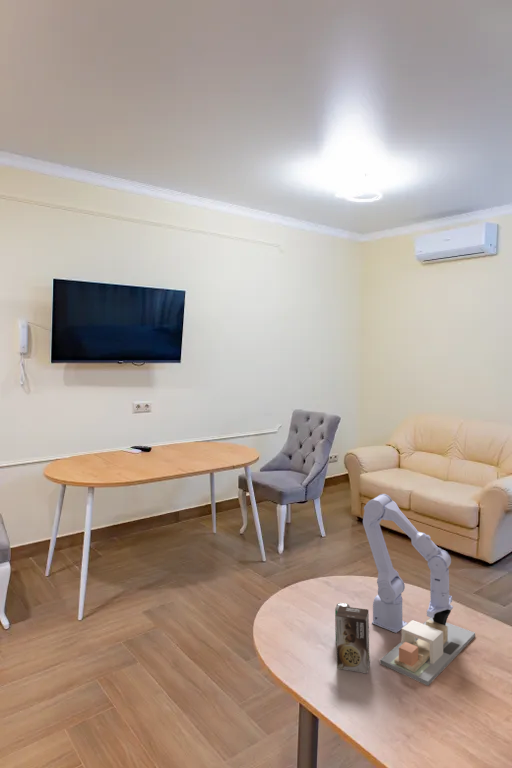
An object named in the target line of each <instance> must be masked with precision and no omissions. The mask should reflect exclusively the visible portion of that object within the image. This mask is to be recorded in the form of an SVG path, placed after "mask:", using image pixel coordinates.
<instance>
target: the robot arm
mask: <svg viewBox="0 0 512 768" xmlns="http://www.w3.org/2000/svg"><path fill="white" fill-rule="evenodd" d="M363 511H364V512H363V519H362V525H363V528H364V530H365V531H364V532H365V534H366V538H367V541H368V544H369V547H370V551H371V554H372V557H373V561H374V563H375V566H376V570H377V572H378V573H377V580H376V584H377V594H376V596H375V597H374V598H373V601H372V621H371V624H373V625H375V626H378V627H380V628H382V629H385V630H387V631H390V632H392V633H395V634H397V633H399V632H400V631H402V628H403V627H404V626H405V625H407V624H408V623H409V622H406V621H404V620H403V596H402V593H404V591H405V589H406V586H405V582H404V581H403V579H402V578H401V577H400V575H399V572H398V571H397V570H396V569H395V568H394V565H393V562H392V559H391V556H390V553H389V550H388V548H387V543H386V540H385V538H384V535H383V530H382V528H381V525H380V524H381V522H382V520H383V521H391V522H393V523H394V524H396V526H397V527H398V528H399V529H401V530H402V532H404V534H406V535H407V536H408V538H409V539H410V540H411V546H413V548H414V549H415V550H416V551H417V552H418V553H419V554H420V555H421V556H422V557H423V559H425V561H426V562H427V567H428V569H429V571H430V575H429V576H430V579H429V580H430V582H429V583H430V585H429V586H430V592H429V593H430V600H429V604H428V609H426V617H428V618H433V621H434V622H437V623H440V624H442V625H446V622H447V620H448V618H449V615H450V614H451V611H452V610H453V608H454V606H453V605H452V602H453V596H452V595H450V568H449V567H450V566H451V564H452V558H451V555H450V554H449V552H448V551H446V550H444V549H442V548H441V547H438V546H437V544H436V543H435V542H434V541H433V540H432V538H431V535H430V534H426V533H425V532H421V531H418V530H417V528H416V527H415V525H414V524H413V523H411V521H410V519H408V517H407V516H406V514H404V513H403V512H402V511H401V509H400V508H399V506H398V504H397V502H395V501H394V500H393V499H392V497H391V496H390V495H388V494H387V493H380V494H379V495H377V496H375V497H374V498H372V499H370V500H368V501H367V503H366V504H365V505H364V507H363Z"/></svg>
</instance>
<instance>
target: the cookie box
mask: <svg viewBox="0 0 512 768" xmlns="http://www.w3.org/2000/svg"><path fill="white" fill-rule="evenodd" d="M369 622H370V621H369V609H366V608H360V607H359V608H357V607H353V606H352V607H351V606H350V607H344V606H339V609H338V611H337V614H336V635H335V637H336V636H337V642H336V669H338V668H340V669H339V670H346V671H353V672H358V673H364V674H369V668H370V663H371V662H370V661H371V660H370V627H369V625H370V623H369Z"/></svg>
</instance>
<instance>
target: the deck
mask: <svg viewBox="0 0 512 768" xmlns="http://www.w3.org/2000/svg"><path fill="white" fill-rule="evenodd" d="M428 619H429V620H431V621H433V618H430V617H428ZM422 624H425V625H426V621H424V622H423V623H422ZM445 626H448V641H447V642H446V643H445V644H444V645H443V655H442V656H441V657H440V658H439V659H438V660H437V661H436V662H435V663H434V664H431V663H430V658H429V659H428V660H427V661H426V662H425V663H424V664H423V665H422V666H421V667H420V668H419V669H418V670H417V671H416V672H413V671H411V670H408V669H406V668H404V667H402V666H400V665H397V664H395V663H394V660H395V659H396V658H397V657H398V656H399V647H400V646H401V645H402V641H401V642H399V643H398V644H396V646H395V647H393V648H392V649H391V650H390V651H389V652H387V653H386V654H385V655H384V656H383V657H382V658H380V660H379V664H380V665H382V666H384V667H387V668H389V669H390V670H391V669H392V670H393V671H395V672H397V673H399V674H401V675H404V676H406V677H408V678H410V679H411V680H412V679H413V680H415V681H416V682H419V683H422V684H424V685H425V686H429V685H430V684H431V683H432V682H433V681H434V680H435V679H436V678H437V677H438V676H439V675H440V674H441V673H442V672H443V671H444V670H445V669H446V668H447V667H448V665H450V663H451V662H453V660H454V659H456V657H457V656H458V655H459V654H460V653H461V652H462V650H464V649H465V648H466V647H467V645H469V644H470V643H471V641H472V640H473V639H474V638H475V637H476V632H475V631H471V630H469V629H467V628H463V627H460V626H458V625H454V624H452V623H449V622H447V621H446V625H445ZM415 640H416V641H417V640H418V638H416V637H415Z"/></svg>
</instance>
